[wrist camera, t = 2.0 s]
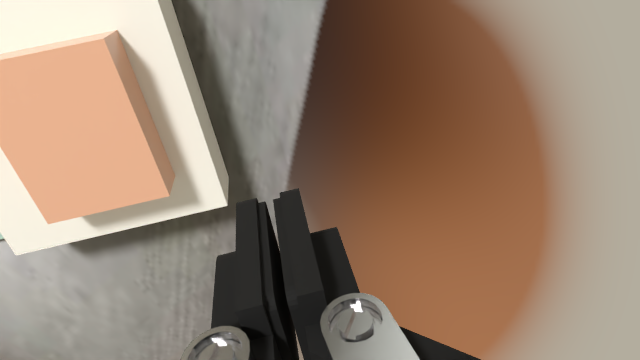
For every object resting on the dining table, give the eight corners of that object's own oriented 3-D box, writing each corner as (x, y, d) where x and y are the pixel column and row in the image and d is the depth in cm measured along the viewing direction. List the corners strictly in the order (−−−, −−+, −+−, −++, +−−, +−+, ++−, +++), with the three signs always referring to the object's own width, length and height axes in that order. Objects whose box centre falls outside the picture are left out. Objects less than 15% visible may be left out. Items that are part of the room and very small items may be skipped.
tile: (-19, 57, 22) (-48, 69, 19) (117, 29, 22) (103, 38, 20) (63, 201, 26) (48, 224, 24) (175, 175, 27) (169, 196, 24)
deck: (-94, 5, 23) (-153, 14, 20) (156, -45, 24) (142, -44, 21) (41, 220, 31) (16, 255, 27) (228, 177, 32) (227, 205, 28)
